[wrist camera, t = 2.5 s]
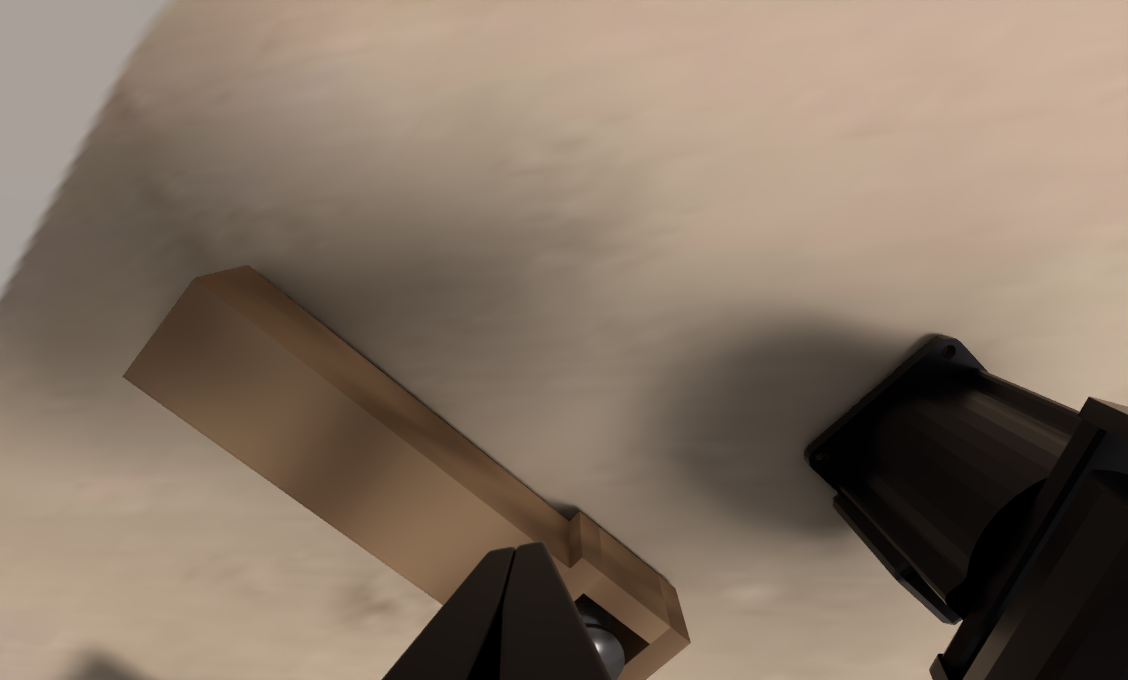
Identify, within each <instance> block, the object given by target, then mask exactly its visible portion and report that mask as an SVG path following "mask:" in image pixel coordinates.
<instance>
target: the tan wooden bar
mask: <svg viewBox="0 0 1128 680" xmlns="http://www.w3.org/2000/svg"><path fill="white" fill-rule="evenodd" d="M123 377H124V378H125V379H126V380H128V381H129V382H131V383H132V384H133V385H135V386H136V387H138V388H139V389H140V390H142V391H143V392H145V393H146V394H148V395H149V396H150V397H152V398H153V399H155V400H156V401H157V402H159V403H160V404H162V405H163V406H164V407H166V408H167V409H169V410H170V411H171V412H173V413H174V414H176V415H177V416H178V417H180V418H181V419H183V420H184V421H185V422H187V423H188V424H190V425H191V426H192V427H194V428H195V429H197V430H198V431H199V432H201V433H202V434H204V435H205V436H206V437H208V438H209V439H211V440H212V441H213V442H215V443H216V444H218V445H219V446H220V447H222V448H223V449H225V450H226V451H227V452H229V453H230V454H232V455H233V456H234V457H236V458H237V459H239V460H240V461H242V462H243V463H244V464H246V465H247V466H249V467H250V468H251V469H253V470H254V471H256V472H257V473H258V474H260V475H261V476H263V477H264V478H265V479H267V480H268V481H270V482H271V483H272V484H274V485H275V486H277V487H278V488H279V489H281V490H282V491H284V492H285V493H286V494H288V495H289V496H291V497H292V498H293V499H295V500H296V501H298V502H299V503H300V504H302V505H303V506H305V507H306V508H307V509H309V510H310V511H312V512H313V513H314V514H316V515H317V516H319V517H320V518H321V519H323V520H324V521H326V522H327V523H328V524H330V525H331V526H333V527H334V528H335V529H337V530H338V531H340V532H341V533H343V534H344V535H345V536H347V537H348V538H350V539H351V540H352V541H354V542H355V543H357V544H358V545H359V546H361V547H362V548H364V549H365V550H366V551H368V552H369V553H371V554H372V555H373V556H375V557H376V558H378V559H379V560H380V561H382V562H383V563H385V564H386V565H387V566H389V567H390V568H392V569H393V570H394V571H396V572H397V573H399V574H400V575H401V576H403V577H404V578H406V579H407V580H408V581H410V582H411V583H413V584H414V585H415V586H417V587H418V588H420V589H421V590H422V591H424V592H425V593H427V594H428V595H429V596H431V597H432V598H434V599H435V600H437V601H438V602H439V603H441V604H442V605H444V604H445V603H446V602H447V600H448V599H449V598H450V597H451V596H452V594H453V593H454V592H455V591H456V590H457V588H458V587H459V586H460V585H461V584H462V582H463V581H464V580H465V579H466V578H467V576H468V575H469V574H470V573H471V572H472V570H473V569H474V568H475V567H476V566H477V564H478V563H479V562H480V561H481V560H482V558H483V557H484V556H485V555H486V554H487V553H488V552H489V551H491V550H496V549H501V548H506V547H515V548H516V549H517V547H518V546H519V545H522V544H527V543H532V542H537V541H543V542H544V543H545V544H546V546H547V548H548V550H549V552H550V554H551V556H552V558H553V560H554V562H555V564H556V566H557V569H558V571H559V573H560V575H561V577H562V579H563V581H564V583H565V585H566V587H567V589H568V591H569V593H570V595H571V597H572V599H573V601H575V600H576V599H577V598H579V597H580V596H581V595H582V594H583V593H584V594H586V595H587V596H588V597H589V598H591V599H592V600H593V601H595V602H596V603H597V604H599V605H600V606H601V607H602V608H604V609H605V610H606V611H608V612H609V613H610V614H611V621H612V630H613V632H614V633H615V634H616V635H617V636H618V638H619V639H620V641H621V643H622V645H623V650H624V658H625V663H624V668H623V670H622V672H621V674H620V676H619V677H618V678H617V679H616V680H646V679H647V678H648V677H649V676H651V675H652V674H653V673H654V672H656V671H657V670H658V669H659V668H660V667H662V666H663V665H664V664H665V663H667V662H668V661H669V660H670V659H672V658H673V657H674V656H675V655H676V654H678V653H679V652H680V651H681V650H683V649H684V648H685V647H686V646H687V645H689V644H690V643H691V642H690V638H689V635H688V631H687V628H686V624H685V621H684V617H683V614H682V610H681V607H680V603H679V600H678V596H677V592H676V589H675V588H674V587H673V586H672V585H671V584H669V583H668V582H667V581H666V580H664V579H663V578H662V577H661V576H659V575H658V574H657V573H656V572H654V571H653V570H652V569H651V568H650V567H648V566H647V565H646V564H645V563H643V562H642V561H641V560H640V559H638V558H637V557H636V556H635V555H633V554H632V553H631V552H630V551H628V550H627V549H626V548H625V547H623V546H622V545H621V544H620V543H619V542H617V541H616V540H615V539H614V538H612V537H611V536H610V535H609V534H607V533H606V532H605V531H604V530H602V529H601V528H600V527H599V526H597V525H596V524H595V523H594V522H592V521H591V520H590V519H589V518H588V517H586V516H585V515H584V514H583V513H581V512H579V513H577V514H576V515H575V516H574V517H573V518H572V519H571V520H570V521H568V520H567V519H565V518H564V517H563V516H562V515H560V514H559V513H558V512H557V511H555V510H554V509H553V508H552V507H550V506H549V505H548V504H547V503H545V502H544V501H543V500H542V499H540V498H539V497H538V496H537V495H535V494H534V493H533V492H532V491H530V490H529V489H528V488H527V487H525V486H524V485H523V484H522V483H520V482H519V481H518V480H517V479H515V478H514V477H513V476H512V475H510V474H509V473H508V472H507V471H505V470H504V469H503V468H502V467H500V466H499V465H498V464H496V463H495V462H494V461H493V460H491V459H490V458H489V457H488V456H486V455H485V454H484V453H483V452H481V451H480V450H479V449H478V448H476V447H475V446H474V445H473V444H471V443H470V442H469V441H468V440H466V439H465V438H464V437H463V436H461V435H460V434H459V433H458V432H456V431H455V430H454V429H453V428H451V427H450V426H449V425H448V424H446V423H445V422H444V421H443V420H441V419H440V418H439V417H438V416H436V415H435V414H434V413H433V412H431V411H430V410H429V409H428V408H426V407H425V406H424V405H423V404H421V403H420V402H419V401H418V400H416V399H415V398H414V397H412V396H411V395H410V394H409V393H407V392H406V391H405V390H404V389H402V388H401V387H400V386H399V385H397V384H396V383H395V382H394V381H392V380H391V379H390V378H389V377H387V376H386V375H385V374H384V373H382V372H381V371H380V370H379V369H377V368H376V367H375V366H374V365H372V364H371V363H370V362H369V361H367V360H366V359H365V358H364V357H362V356H361V355H360V354H359V353H357V352H356V351H355V350H354V349H352V348H351V347H350V346H349V345H347V344H346V343H345V342H344V341H342V340H341V339H340V338H339V337H337V336H336V335H335V334H334V333H332V332H331V331H330V330H329V329H327V328H326V327H325V326H323V325H322V324H321V323H320V322H318V321H317V320H316V319H315V318H313V317H312V316H311V315H310V314H308V313H307V312H306V311H305V310H303V309H302V308H301V307H300V306H298V305H297V304H296V303H295V302H293V301H292V300H291V299H290V298H288V297H287V296H286V295H285V294H283V293H282V292H281V291H280V290H278V289H277V288H276V287H275V286H273V285H272V284H271V283H270V282H268V281H267V280H266V279H265V278H263V277H262V276H261V275H260V274H258V273H257V272H256V271H255V270H253V269H252V268H251V267H250V266H244V267H239V268H235V269H231V270H227V271H222V272H218V273H214V274H210V275H205V276H201V277H197V278H194V280H193V281H192V282H191V284H190V285H189V286H188V288H187V289H186V291H185V292H184V293H183V295H182V296H181V297H180V299H179V300H178V301H177V303H176V304H175V306H174V307H173V308H172V310H171V311H170V312H169V314H168V315H167V316H166V318H165V319H164V321H163V322H162V323H161V325H160V326H159V327H158V329H157V330H156V332H155V333H154V334H153V336H152V337H151V338H150V340H149V341H148V342H147V344H146V345H145V347H144V348H143V349H142V351H141V352H140V353H139V355H138V356H137V358H136V359H135V360H134V362H133V363H132V364H131V366H130V367H129V368H128V370H127V371H126V373H125V374H124V375H123Z"/></svg>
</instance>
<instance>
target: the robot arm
mask: <svg viewBox="0 0 1128 680" xmlns="http://www.w3.org/2000/svg"><path fill="white" fill-rule="evenodd" d="M945 346H948V348H947V351H946V352H945V354H943V355H941V350H942V349H943V347H945ZM821 453H824V456H823V458H821V459H820V460H816V457H817V456H818V455H819V454H821ZM804 459H805V461H806V462H807V463H808V464H809V466H810V467H811V468H812V469H813V470H814V471H815V472H816V473H818V474H819V475H820V476H821V477H822V478H823V479H824V480H825V481H826V482H827V483H828V484H829V485H830V486H831V487H832V488H834V489H835V490H836V491H837V492H838V494H837V495H836V496H835V497H834V498H833V507H834V508H835V509H836V510H837V512H838V513H839V514H840V515H841V516H842V517H843V519H844V520H845V521H846V522H847V523H848V524H849V526H850V527H851V528H852V529H853V530H854V531H855V533H856V534H857V535H858V536H859V537H860V538H861V540H862V541H863V542H864V543H865V544H866V545H867V547H868V548H869V549H870V550H871V551H872V552H873V554H874V555H875V556H876V557H877V558H878V559H879V561H880V562H881V563H882V564H883V565H884V566H885V568H886V569H887V570H888V571H889V572H890V573H891V575H892V576H893V577H894V578H895V579H896V580H897V581H898V582H899V583H900V584H901V585H902V586H903V587H904V588H905V589H907V590H908V591H909V592H910V593H911V594H912V595H913V596H914V597H915V598H916V599H918V600H919V601H920V602H921V603H922V604H923V605H924V606H925V607H926V608H927V609H928V610H930V611H931V612H932V613H933V614H934V615H935V616H936V617H937V618H938V619H939V620H940V621H942V622H943V623H947V624H951V625H955V624H957V623H958V622H959V621H961V620H963V622H962V623H961V625H960V627H959V628H958V630H957V632H956V634H955V635H954V637H953V639H952V640H951V642H950V644H949V645H948V647H947V649H946V651H945V652H944V654H938V655H937V657H936V658H935V660H934V662H933V663H932V665H931V667H930V669H929V671H930V674H931V676H932V679H933V680H1128V407H1126V406H1123V405H1119V404H1115V403H1112V402H1108V401H1104V400H1101V399H1097V398H1093V397H1088V399H1087V401H1086V402H1085V404H1084V406H1083V407H1082V409H1081V411H1080V412H1079V411H1077V410H1075V409H1072V408H1070V407H1067V406H1065V405H1063V404H1060V403H1058V402H1056V401H1053V400H1051V399H1049V398H1046V397H1044V396H1042V395H1039V394H1037V393H1035V392H1032V391H1030V390H1028V389H1025V388H1023V387H1021V386H1018V385H1016V384H1014V383H1011V382H1009V381H1006V380H1004V379H1002V378H999V377H997V376H995V375H992V374H990V373H988V371H987V370H986V369H985V368H984V367H983V366H982V365H981V364H980V363H979V362H978V360H977V359H976V358H975V357H974V356H973V355H972V354H971V353H970V352H969V351H968V350H967V348H966V347H965V346H964V345H963V344H962V343H961V342H960V341H959V340H957V339H955V338H952V337H950V336H946V335H940V336H936V337H934V338H933V339H931V340H930V341H929V342H928V343H927V344H925V345H924V346H923V347H922V348H921V349H920V350H919V351H917V352H916V353H915V354H914V355H913V356H912V357H910V358H909V359H908V360H907V361H906V362H905V363H904V364H902V365H901V366H900V367H899V368H898V369H897V370H895V371H894V372H893V373H892V374H891V375H890V376H889V377H887V378H886V379H885V380H884V381H883V382H882V383H880V384H879V385H878V386H877V387H876V388H875V389H874V390H872V391H871V392H870V393H869V394H868V395H867V396H865V397H864V398H863V399H862V400H861V401H860V402H859V403H857V404H856V405H855V406H854V407H853V408H852V409H850V410H849V411H848V412H847V413H846V414H845V415H843V416H842V417H841V418H840V419H839V420H838V421H837V422H835V423H834V424H833V425H832V426H831V427H830V428H828V429H827V430H826V431H825V432H824V433H823V434H822V435H820V436H819V437H818V438H817V439H816V440H815V441H813V442H812V443H811V444H810V445H809V446H808V447H807V448H806V450H805V453H804ZM382 680H612V679H611V677H610V675H609V672H608V670H607V668H606V666H605V664H604V662H603V660H602V658H601V656H600V654H599V652H598V650H597V648H596V646H595V644H594V642H593V640H592V638H591V636H590V634H589V632H588V630H587V628H586V626H585V624H584V622H583V619H582V617H581V615H580V613H579V611H578V609H577V607H576V605H575V603H574V601H573V599H572V597H571V595H570V593H569V591H568V589H567V587H566V585H565V583H564V581H563V579H562V577H561V575H560V573H559V571H558V569H557V566H556V564H555V562H554V560H553V558H552V556H551V554H550V552H549V550H548V548H547V546H546V544H545V543H544V542H543V541H537V542H532V543H527V544H522V545H519V546H518V547H517V549H516V548H515V547H506V548H501V549H496V550H491V551H489V552H488V553H487V554H486V555H485V556H484V557H483V558H482V560H481V561H480V562H479V563H478V564H477V566H476V567H475V568H474V569H473V570H472V572H471V573H470V574H469V575H468V576H467V578H466V579H465V580H464V581H463V582H462V584H461V585H460V586H459V587H458V588H457V590H456V591H455V592H454V593H453V594H452V596H451V597H450V598H449V599H448V600H447V602H446V603H445V604H444V605H443V607H442V608H441V609H440V610H439V611H438V613H437V614H436V615H435V616H434V617H433V619H432V620H431V621H430V622H429V623H428V625H427V626H426V627H425V628H424V629H423V631H422V632H421V633H420V634H419V635H418V637H417V638H416V639H415V640H414V641H413V643H412V644H411V645H410V646H409V647H408V649H407V650H406V651H405V652H404V653H403V655H402V656H401V657H400V658H399V659H398V661H397V662H396V663H395V664H394V665H393V667H392V668H391V669H390V670H389V671H388V673H387V674H386V675H385V676H384V677H383V679H382Z"/></svg>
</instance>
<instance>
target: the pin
mask: <svg viewBox="0 0 1128 680" xmlns="http://www.w3.org/2000/svg"><path fill="white" fill-rule="evenodd" d="M574 603H575V605H576V607H577V609H578V611H579V613H580V615H581V617H582V619H583V622H584V624H585V626H586V628H587V630H588V632H589V634H590V636H591V638H592V640H593V642H594V644H595V646H596V648H597V650H598V652H599V654H600V656H601V658H602V660H603V662H604V664H605V666H606V668H607V670H608V672H609V675H610V677H611V679H612V680H616V679H617V678H618V677H619V676H620V674H621V672H622V670H623V668H624V663H625V658H624V650H623V645H622V643H621V641H620V639H619V638H618V636H617V635H616V634H615V633H614V632H613V630H612V621H611V614H610V613H609V612H608V611H606V610H605V609H604V608H602V607H601V606H600V605H599V604H597V603H596V602H595V601H593V600H592V599H591V598H589V597H588V596H587V595H586V594H584V593H583V594H582V595H581V596H580V597H579V598H577V599H576V600H575V601H574Z"/></svg>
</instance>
